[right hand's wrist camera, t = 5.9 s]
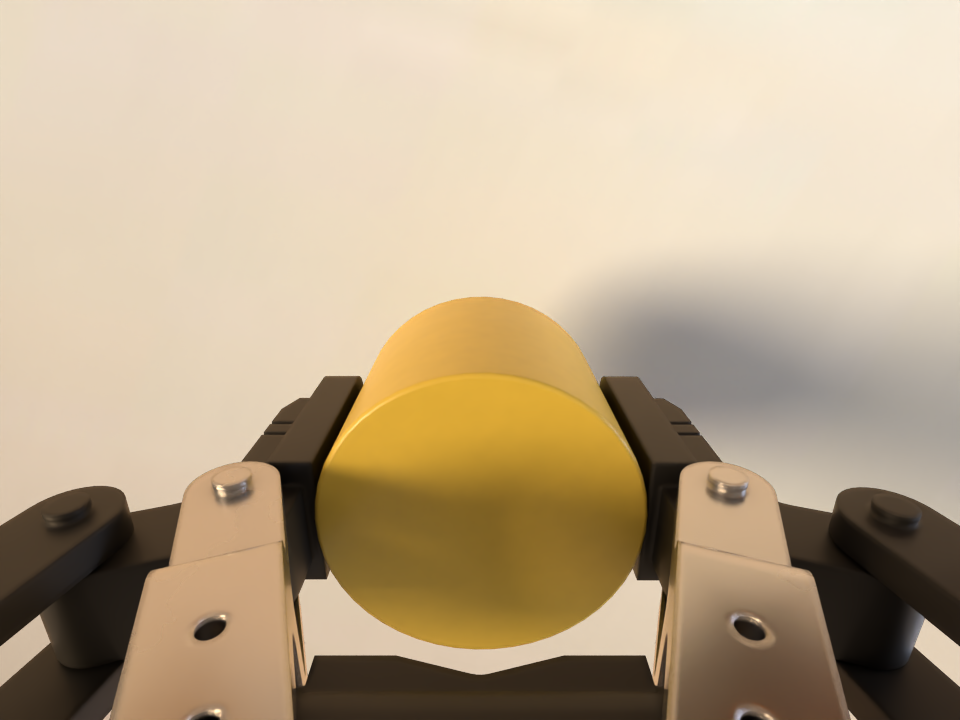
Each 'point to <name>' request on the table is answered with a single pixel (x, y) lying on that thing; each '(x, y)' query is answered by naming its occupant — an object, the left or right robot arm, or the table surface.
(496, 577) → the canister
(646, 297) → the table surface
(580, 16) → the table surface
